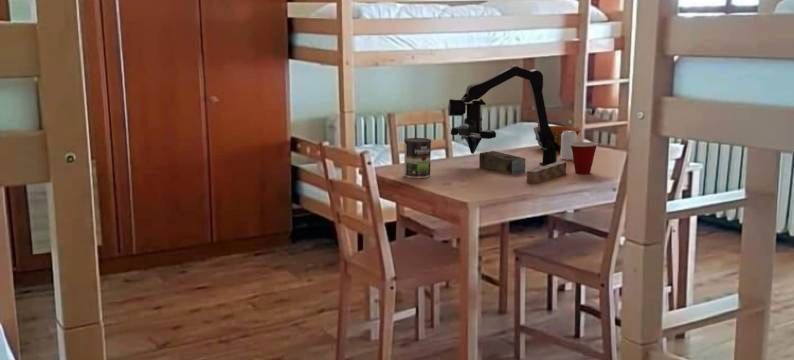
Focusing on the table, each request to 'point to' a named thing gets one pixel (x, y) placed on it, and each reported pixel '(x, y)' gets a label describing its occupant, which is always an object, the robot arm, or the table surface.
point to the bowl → (560, 132)
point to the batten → (546, 172)
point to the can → (567, 144)
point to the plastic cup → (583, 156)
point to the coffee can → (417, 157)
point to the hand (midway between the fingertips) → (472, 153)
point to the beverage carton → (502, 162)
